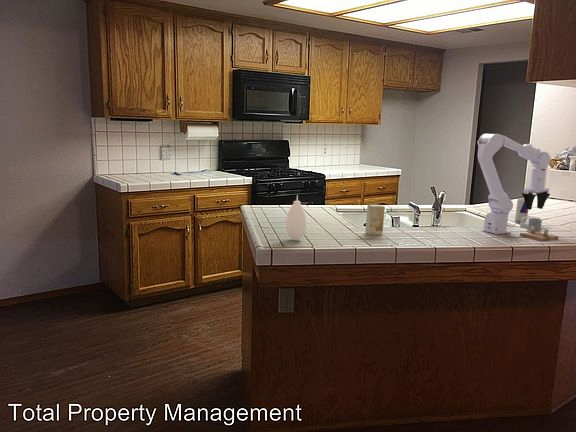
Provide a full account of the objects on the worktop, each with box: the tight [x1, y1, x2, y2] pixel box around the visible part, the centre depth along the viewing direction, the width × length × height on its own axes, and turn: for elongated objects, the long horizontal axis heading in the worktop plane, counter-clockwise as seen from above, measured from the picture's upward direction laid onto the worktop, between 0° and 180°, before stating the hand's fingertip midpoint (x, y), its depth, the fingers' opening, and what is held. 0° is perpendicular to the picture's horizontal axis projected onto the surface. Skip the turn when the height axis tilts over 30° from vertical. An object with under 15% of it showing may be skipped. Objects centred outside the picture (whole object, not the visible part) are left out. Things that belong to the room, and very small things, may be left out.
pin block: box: [519, 226, 559, 242], centre depth 203 cm, size 11×10×4 cm
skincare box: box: [365, 204, 386, 236], centre depth 199 cm, size 6×4×12 cm
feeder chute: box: [519, 215, 541, 229], centre depth 225 cm, size 9×6×5 cm
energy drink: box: [514, 197, 529, 224], centre depth 235 cm, size 5×5×12 cm
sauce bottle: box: [285, 194, 308, 242], centre depth 183 cm, size 8×8×18 cm
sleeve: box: [526, 218, 543, 233], centre depth 213 cm, size 6×6×6 cm
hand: (534, 208), depth 213 cm, fingers open, 7 cm apart
